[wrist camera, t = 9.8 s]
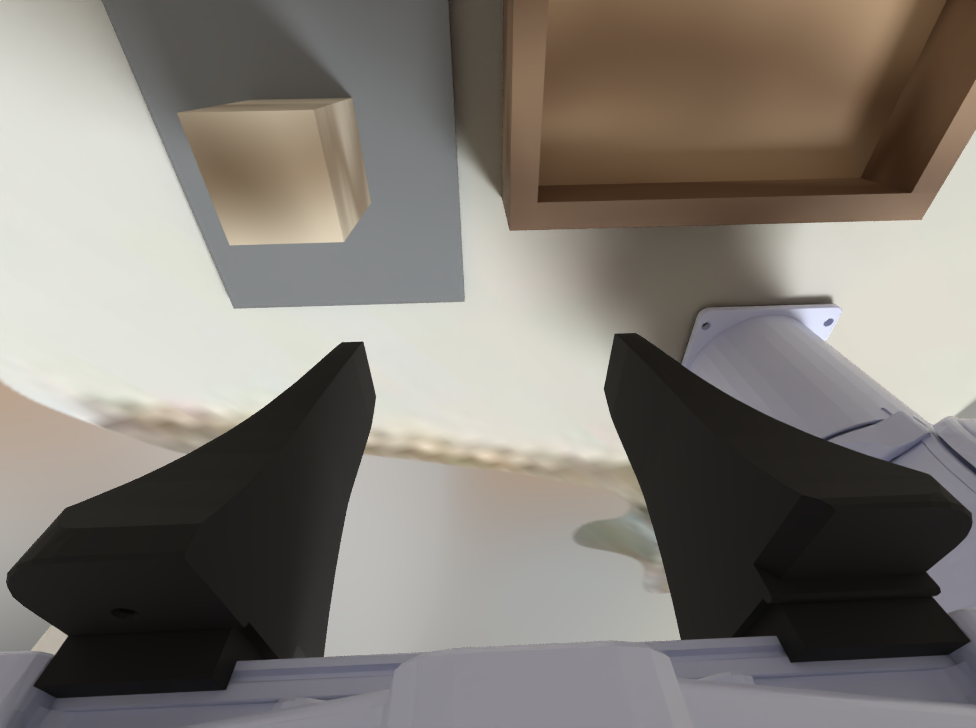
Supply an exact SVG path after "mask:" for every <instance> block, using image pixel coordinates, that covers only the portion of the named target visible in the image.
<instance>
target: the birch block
mask: <svg viewBox="0 0 976 728" xmlns="http://www.w3.org/2000/svg"><path fill="white" fill-rule="evenodd" d="M177 114H178V117H179V119H180V122H181V124H182V127H183V129H184V132H185V134H186V137H187V140H188V142H189V145H190V147H191V150H192V152H193V155H194V157H195V160H196V162H197V165H198V167H199V170H200V172H201V175H202V177H203V180H204V182H205V185H206V187H207V190H208V192H209V195H210V197H211V200H212V202H213V205H214V207H215V210H216V212H217V215H218V218H219V220H220V223H221V225H222V228H223V230H224V233H225V235H226V238H227V240H228V243H229V245H260V244H295V243H330V242H344V241H345V240H346V238H347V237H348V235H349V234H350V233H351V231H352V230H353V228H354V227H355V225H356V224H357V222H358V221H359V220H360V218H361V217H362V215H363V214H364V212H365V211H366V210H367V208H368V207H369V205H370V204H371V200H370V194H369V189H368V183H367V177H366V172H365V166H364V160H363V155H362V149H361V144H360V138H359V132H358V127H357V121H356V115H355V110H354V104H353V99H352V98H315V99H269V100H247V101H241V102H235V103H230V104H224V105H218V106H213V107H207V108H201V109H196V110H190V111H185V112H179V113H177Z"/></svg>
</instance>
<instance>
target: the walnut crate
mask: <svg viewBox="0 0 976 728" xmlns="http://www.w3.org/2000/svg"><path fill="white" fill-rule="evenodd" d="M975 130H976V0H503V138H502V200H503V204H504V209H505V213H506V217H507V221H508V225H509V230H510V231H511V230H549V229H587V228H625V227H663V226H701V225H739V224H777V223H815V222H853V221H891V220H922V218H923V216H924V215H925V213H926V211H927V210H928V208H929V206H930V205H931V203H932V201H933V200H934V198H935V196H936V195H937V193H938V191H939V190H940V188H941V186H942V185H943V183H944V181H945V180H946V178H947V176H948V175H949V173H950V171H951V170H952V168H953V166H954V165H955V163H956V161H957V160H958V158H959V156H960V155H961V153H962V151H963V150H964V148H965V146H966V145H967V143H968V141H969V140H970V138H971V136H972V135H973V133H974V131H975Z"/></svg>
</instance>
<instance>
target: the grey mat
mask: <svg viewBox="0 0 976 728" xmlns="http://www.w3.org/2000/svg"><path fill="white" fill-rule="evenodd" d="M102 2H103V4H104V6H105V9H106V11H107V13H108V16H109V18H110V20H111V23H112V25H113V27H114V30H115V32H116V34H117V37H118V39H119V41H120V44H121V46H122V48H123V51H124V53H125V55H126V58H127V60H128V62H129V65H130V67H131V69H132V72H133V74H134V76H135V79H136V81H137V83H138V86H139V88H140V90H141V93H142V95H143V97H144V100H145V102H146V104H147V107H148V109H149V111H150V114H151V116H152V118H153V121H154V123H155V125H156V128H157V130H158V132H159V135H160V137H161V139H162V142H163V144H164V146H165V149H166V151H167V153H168V156H169V158H170V160H171V163H172V165H173V167H174V170H175V172H176V174H177V177H178V179H179V181H180V184H181V186H182V188H183V191H184V193H185V195H186V198H187V200H188V202H189V205H190V207H191V209H192V212H193V214H194V216H195V219H196V221H197V223H198V226H199V228H200V231H201V233H202V235H203V238H204V240H205V242H206V245H207V247H208V249H209V252H210V254H211V256H212V259H213V261H214V263H215V266H216V268H217V270H218V273H219V275H220V277H221V280H222V282H223V284H224V287H225V289H226V291H227V294H228V296H229V298H230V301H231V303H232V305H233V308H268V307H302V306H335V305H369V304H402V303H436V302H464V297H465V296H464V277H463V259H462V240H461V221H460V202H459V183H458V165H457V146H456V127H455V108H454V90H453V71H452V52H451V33H450V15H449V0H102ZM315 98H352V99H353V104H354V110H355V115H356V121H357V127H358V132H359V138H360V144H361V149H362V155H363V160H364V166H365V172H366V177H367V183H368V189H369V194H370V200H371V204H370V205H369V207H368V208H367V210H366V211H365V212H364V214H363V215H362V217H361V218H360V220H359V221H358V222H357V224H356V225H355V227H354V228H353V230H352V231H351V233H350V234H349V235H348V237H347V238H346V240H345V241H344V242H330V243H295V244H260V245H229V243H228V240H227V238H226V235H225V233H224V230H223V228H222V225H221V223H220V220H219V218H218V215H217V212H216V210H215V207H214V205H213V202H212V200H211V197H210V195H209V192H208V190H207V187H206V185H205V182H204V180H203V177H202V175H201V172H200V170H199V167H198V165H197V162H196V160H195V157H194V155H193V152H192V150H191V147H190V145H189V142H188V140H187V137H186V134H185V132H184V129H183V127H182V124H181V122H180V119H179V117H178V114H177V113H179V112H185V111H190V110H196V109H201V108H207V107H213V106H218V105H224V104H230V103H235V102H241V101H247V100H269V99H315Z"/></svg>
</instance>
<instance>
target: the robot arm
mask: <svg viewBox="0 0 976 728" xmlns="http://www.w3.org/2000/svg"><path fill="white" fill-rule="evenodd" d="M841 312H842V309H841V308H840V307H839V306H838V305H836V304H809V305H777V306H744V307H711V308H705V309H703V310H701V311H700V312H699V313H698V315H697V318H696V321H695V324H694V327H693V330H692V333H691V336H690V339H689V343H688V346H687V349H686V352H685V355H684V358H683V361H682V364H680V363H678V362H677V361H675V360H674V359H673V358H671V357H670V356H668V355H667V354H666V353H664V352H663V351H661V350H660V349H659V348H657V347H656V346H654V345H653V344H652V343H650V342H649V341H647V340H646V339H644V338H643V337H641V336H640V335H638V334H636V333H624V334H615V335H614V340H613V345H612V350H611V355H610V360H609V365H608V370H607V376H606V381H605V386H604V391H605V395H606V399H607V404H608V407H609V411H610V414H611V418H612V420H613V423H614V425H615V428H616V430H617V433H618V435H619V437H620V440H621V442H622V444H623V447H624V449H625V451H626V454H627V456H628V458H629V461H630V463H631V465H632V468H633V470H634V473H635V475H636V477H637V480H638V482H639V485H640V487H641V490H642V493H643V495H644V498H645V502H646V505H647V508H648V512H649V515H650V518H651V522H652V525H653V528H654V532H655V536H656V539H657V543H658V546H659V550H660V554H661V557H662V561H663V565H664V569H665V573H666V577H667V581H668V585H669V589H670V593H671V597H672V601H673V606H674V610H675V615H676V619H677V623H678V629H679V633H680V637H681V640H676V641H653V642H625V641H597V642H596V641H594V642H575V643H574V642H572V643H551V644H530V645H509V646H489V647H467V648H452V649H445V650H439V651H433V652H421V653H399V654H380V655H356V656H336V657H324V649H325V642H326V633H327V626H328V617H329V611H330V604H331V597H332V590H333V584H334V577H335V570H336V565H337V559H338V554H339V548H340V542H341V536H342V531H343V526H344V521H345V516H346V511H347V506H348V502H349V498H350V494H351V491H352V488H353V484H354V481H355V478H356V475H357V472H358V468H359V465H360V462H361V459H362V456H363V452H364V449H365V446H366V443H367V439H368V436H369V433H370V429H371V425H372V419H373V414H374V407H375V400H376V395H375V390H374V386H373V382H372V377H371V373H370V369H369V364H368V360H367V356H366V351H365V347H364V343H363V342H342V343H340V344H339V345H338V346H337V347H336V348H334V349H333V350H332V351H331V352H330V353H329V354H327V355H326V356H325V357H324V358H323V359H322V360H321V361H320V362H319V363H317V364H316V365H315V366H314V367H313V368H312V369H311V370H309V371H308V372H307V373H306V374H305V375H304V376H303V377H301V378H300V379H299V380H298V381H297V382H296V383H294V384H293V385H292V386H291V387H289V388H288V389H287V390H285V391H284V392H283V393H282V394H280V395H279V396H278V397H277V398H275V399H274V400H273V401H272V402H270V403H269V404H268V405H266V406H265V407H264V408H262V409H261V410H259V411H258V412H257V413H255V414H254V415H252V416H251V417H249V418H248V419H246V420H245V421H243V422H242V423H240V424H239V425H237V426H236V427H234V428H232V429H231V430H229V431H228V432H226V433H224V434H223V435H221V436H219V437H217V438H215V439H214V440H212V441H210V442H208V443H207V444H205V445H203V446H201V447H200V448H198V449H196V450H194V451H193V452H191V453H189V454H187V455H185V456H183V457H181V458H179V459H177V460H175V461H173V462H171V463H169V464H167V465H166V466H163V467H161V468H159V469H157V470H155V471H153V472H151V473H148V474H146V475H144V476H142V477H140V478H138V479H135V480H133V481H131V482H129V483H126V484H124V485H122V486H119V487H117V488H114V489H112V490H110V491H107V492H105V493H102V494H100V495H97V496H95V497H93V498H90V499H88V500H85V501H83V502H80V503H78V504H75V505H73V506H70V507H67V508H66V509H64V511H63V512H62V513H61V514H60V515H59V516H58V517H57V519H55V521H54V522H53V523H52V524H51V525H50V527H48V528H47V530H46V531H45V532H44V533H43V534H42V535H41V536H40V537H39V539H37V541H36V542H35V543H34V544H33V545H32V546H31V547H30V548H29V549H28V551H27V552H26V553H25V554H24V555H23V556H22V557H21V558H20V559H19V561H18V562H17V563H16V564H15V565H14V566H13V567H12V569H11V570H10V571H9V572H8V573H7V580H6V583H7V586H8V589H9V591H10V592H11V594H12V596H13V597H14V598H15V599H16V600H17V601H18V602H20V603H21V604H22V605H23V606H25V607H26V608H28V609H29V610H31V611H32V612H34V613H35V614H36V615H38V616H39V617H41V618H42V619H44V620H45V621H47V622H48V623H50V624H51V625H53V626H54V627H56V628H57V629H59V630H60V631H62V632H63V633H65V634H66V635H68V637H67V638H66V640H65V641H64V643H63V644H62V645H61V647H60V648H59V650H58V651H57V653H56V654H55V655H53V654H50V653H46V652H41V651H15V652H0V728H976V419H968V418H962V419H959V418H957V417H953V416H948V417H945V418H944V419H942V420H941V421H939V422H938V423H936V424H935V425H932V424H930V423H928V422H927V421H926V420H924V419H923V418H922V417H921V416H919V415H918V414H917V413H915V412H914V411H913V410H912V409H910V408H909V407H908V406H907V405H905V404H904V403H903V402H901V401H900V400H899V399H898V398H896V397H895V396H894V395H893V394H891V393H890V392H889V391H888V390H886V389H885V388H884V387H882V386H881V385H880V384H879V383H877V382H876V381H875V380H874V379H872V378H871V377H870V376H869V375H867V374H866V373H865V372H863V371H862V370H861V369H860V368H858V367H857V366H856V365H855V364H853V363H852V362H851V361H849V360H848V359H847V358H846V357H844V356H843V355H842V354H841V353H839V352H838V351H837V350H836V349H834V348H833V347H832V346H830V345H829V344H828V343H827V342H826V340H827V338H828V336H829V334H830V333H831V331H832V329H833V327H834V326H835V324H836V322H837V320H838V318H839V317H840V315H841ZM827 319H828V320H827ZM826 320H827V321H826ZM825 321H826V322H825ZM706 322H708V323H707V324H706V325H705V326H703V327H702V325H703V324H704V323H706Z"/></svg>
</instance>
